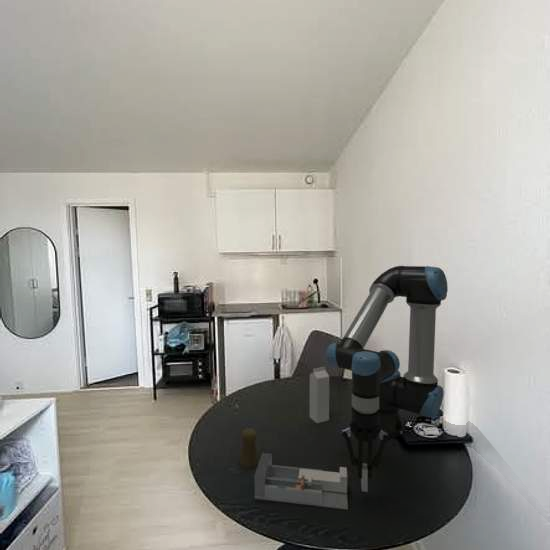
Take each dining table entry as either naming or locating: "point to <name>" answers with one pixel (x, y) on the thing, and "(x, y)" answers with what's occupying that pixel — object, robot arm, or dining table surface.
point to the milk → (319, 395)
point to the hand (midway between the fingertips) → (364, 488)
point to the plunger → (327, 479)
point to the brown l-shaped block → (301, 483)
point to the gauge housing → (292, 486)
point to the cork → (249, 449)
